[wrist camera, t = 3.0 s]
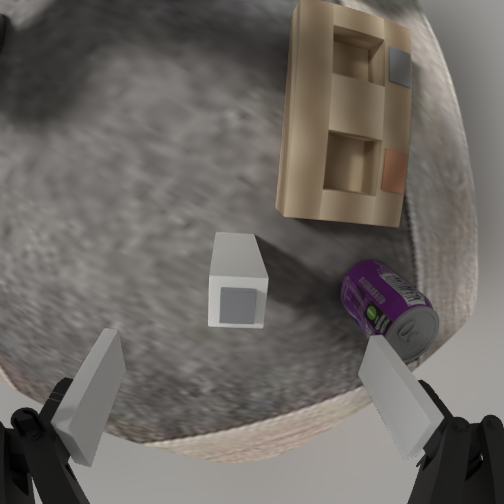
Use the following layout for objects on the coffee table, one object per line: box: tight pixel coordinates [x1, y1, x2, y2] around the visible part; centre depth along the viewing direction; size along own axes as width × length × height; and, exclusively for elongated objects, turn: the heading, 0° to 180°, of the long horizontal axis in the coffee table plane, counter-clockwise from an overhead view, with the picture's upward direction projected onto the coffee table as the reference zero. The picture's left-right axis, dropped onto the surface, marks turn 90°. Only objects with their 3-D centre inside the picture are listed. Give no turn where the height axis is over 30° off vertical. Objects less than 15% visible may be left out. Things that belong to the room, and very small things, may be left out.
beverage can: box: [340, 260, 439, 363], centre depth 29 cm, size 7×7×12 cm
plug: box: [208, 232, 269, 328], centre depth 26 cm, size 4×4×13 cm
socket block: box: [275, 0, 412, 228], centre depth 26 cm, size 12×22×5 cm, turn 175°
